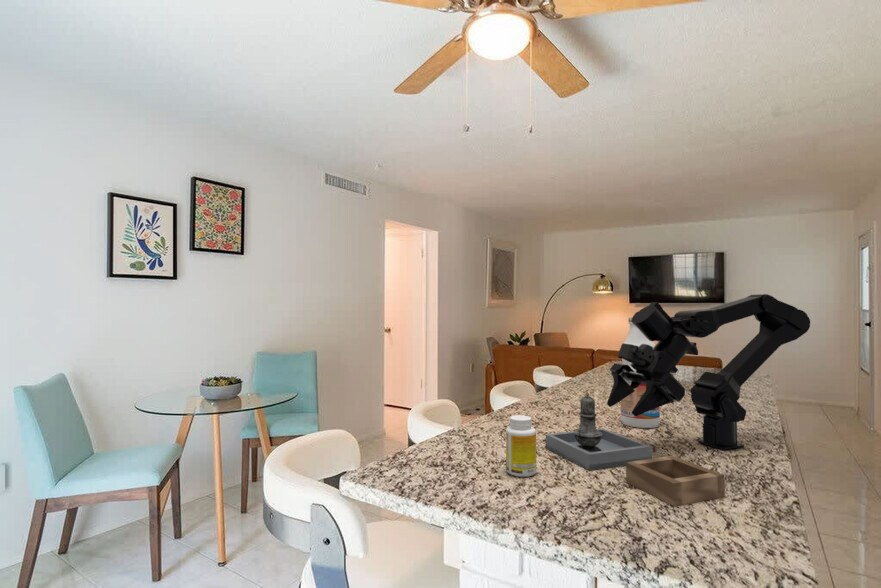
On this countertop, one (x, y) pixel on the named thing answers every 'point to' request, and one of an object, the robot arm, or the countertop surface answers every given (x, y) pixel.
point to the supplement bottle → (521, 447)
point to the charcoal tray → (611, 455)
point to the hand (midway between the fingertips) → (620, 409)
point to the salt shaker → (587, 426)
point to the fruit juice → (637, 389)
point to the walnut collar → (675, 480)
